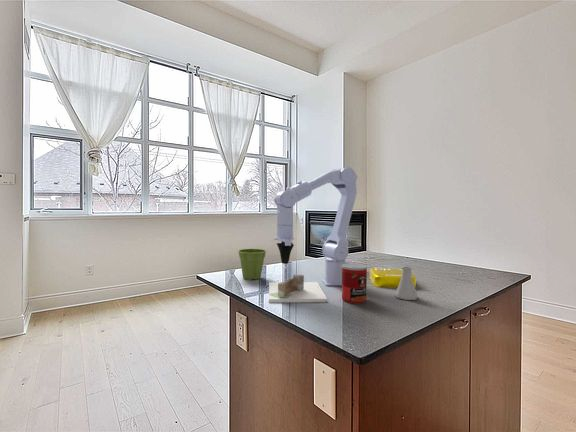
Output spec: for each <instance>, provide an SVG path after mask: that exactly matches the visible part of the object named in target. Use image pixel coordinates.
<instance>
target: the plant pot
mask: <svg viewBox="0 0 576 432" xmlns="http://www.w3.org/2000/svg"><path fill="white" fill-rule="evenodd" d="M267 252H268V251H267V250H266V249H262V248H242V249H241V248H240V249H238V250H237V253H238V255H239V256H238V257H239V260H240V265H241V267H240V268H241V273H242V278H243V279H244V280H249V281H252V280H260V279H261V277H262V272H263V268H264V267H263V265H264V260H265V256H266V253H267Z"/></svg>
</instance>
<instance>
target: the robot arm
mask: <svg viewBox="0 0 576 432" xmlns="http://www.w3.org/2000/svg"><path fill="white" fill-rule="evenodd" d="M357 179H358V175H357V173H356V172H355V170H354V169H353V168H352V167H351V166H347V167H343V168H336V169H331V170H329V171H326V172H324V173H322V174H321V175H319V176H317V177H315V178H313V179H312V180H310V181H308V182H307V181H305V180H299V181H297V182H296V184H294V185H293V186H287V187H286V188H285V190H282V191H279V192H277V193H276V195H275V197H274V198H273V201H274V204H275V206H276V236H274V237H273V240H274V241H280V242H278V243H277V242H276V245H277V248H278V251H279V256H280V261H281V264H283V265H285V264H287V265H288V264H289V262H290V258H291V257H290V256H291V252H292V251H293V248H294V246H295V244H293V240H294V239H295V237H294V206H295V205H296V203H298V202H300V201H302V200H303V199H306V198H308V197H309V196H311V195H312V192H313V190H316V189H317V188H321V187H322V186H324V185H327V184H331V185H332V186H333V187H334V188H335V189H337V190H338V191H339V193H340V199H339V203H338V206H337V207H338V208H337V211H336V216H335V219H334V222H333V227H332V230H331V234H330V235H329V234H328V236H327V237H326V240H325V242H324V243H323V245H322V248H321V252H322V255H323V256H324V259H325V260H324V261H325V264H324V266H325V267H324V268H325V269H324V271H325V273H324V278H323V279H322V281H323V283H324V284H325V286H331V287H332V286H335V287H336V286H342V265H343V264H347V263H351V262H350V260H348V259H347V258H348V256H349V245H350V244H349V241H348V239H347V233H348V230H349V225H350V220H351V218H352V213H353V210H354V205H355V203H356V202H355V201H356V197H357V193H358V192H357Z"/></svg>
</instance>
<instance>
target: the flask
mask: <svg viewBox="0 0 576 432" xmlns="http://www.w3.org/2000/svg"><path fill="white" fill-rule="evenodd" d="M401 269H403V273H402V278H401V281H400V283H399V286H398V288H396V291H395V294H394V296H395V298H397V299H401V300H406V301H417V299H418V298H419V297H418V296H419V295H418V293H417V291H416V288H415V287H414V284H413V281H412V276H411V274H412V270H413V267H411V266H403V265H402V266H401Z"/></svg>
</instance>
